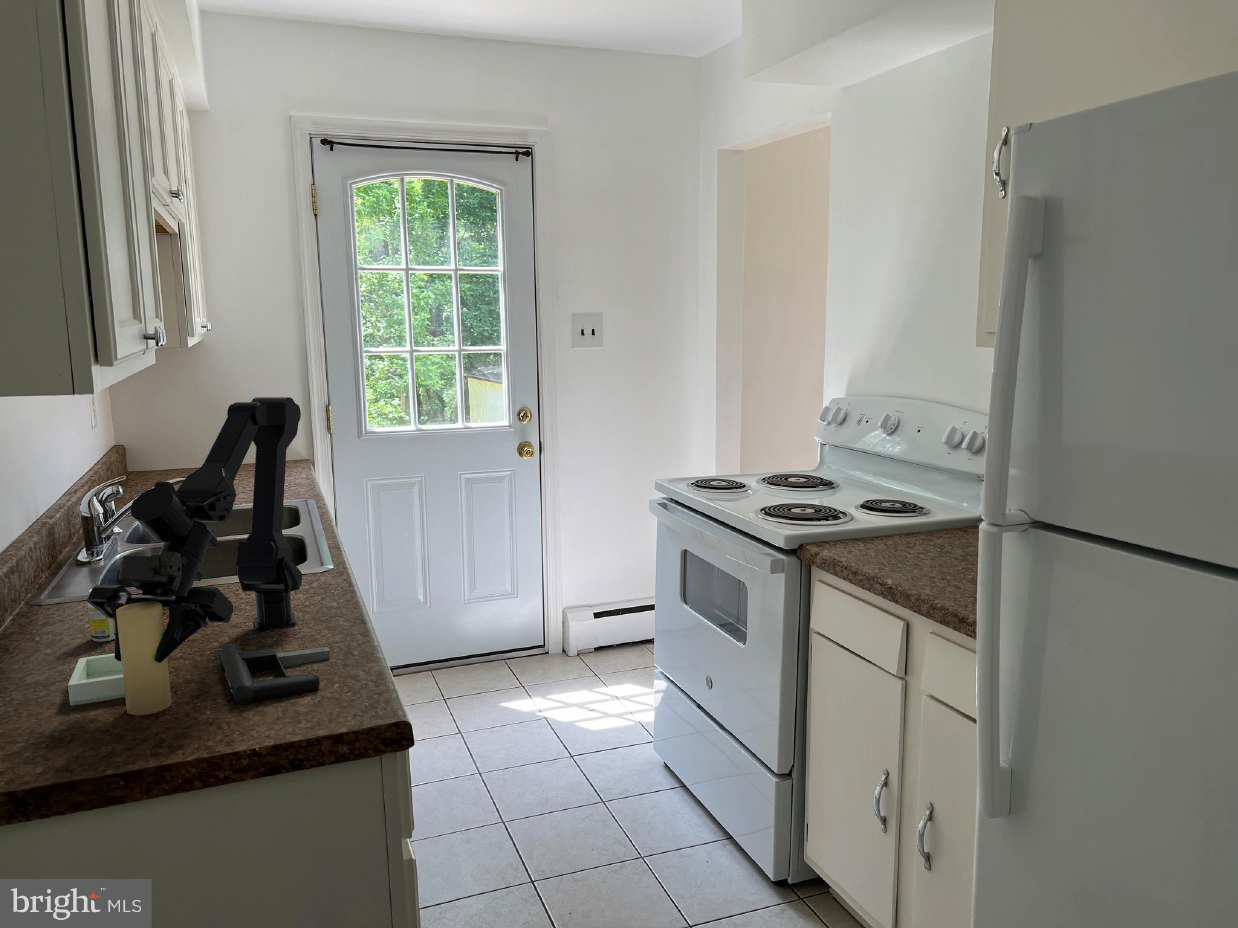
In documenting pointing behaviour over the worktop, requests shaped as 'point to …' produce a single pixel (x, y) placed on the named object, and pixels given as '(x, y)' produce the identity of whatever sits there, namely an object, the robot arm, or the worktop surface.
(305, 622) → the worktop surface
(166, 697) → the tan rounded cylinder
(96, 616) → the supplement bottle
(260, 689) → the door handle
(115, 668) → the tray
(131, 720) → the worktop surface
